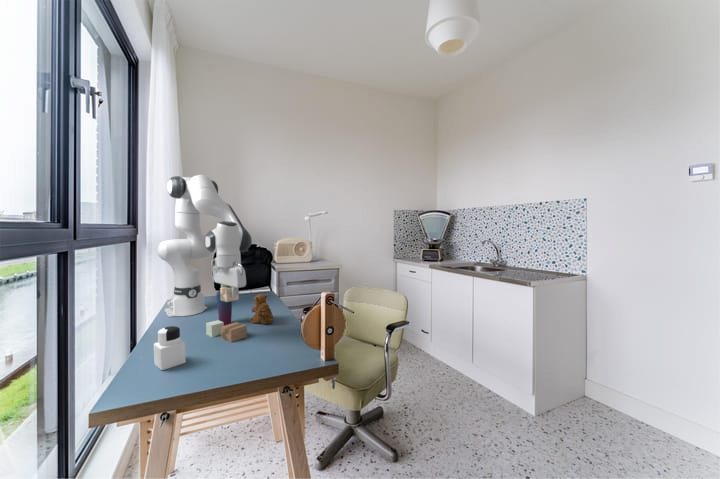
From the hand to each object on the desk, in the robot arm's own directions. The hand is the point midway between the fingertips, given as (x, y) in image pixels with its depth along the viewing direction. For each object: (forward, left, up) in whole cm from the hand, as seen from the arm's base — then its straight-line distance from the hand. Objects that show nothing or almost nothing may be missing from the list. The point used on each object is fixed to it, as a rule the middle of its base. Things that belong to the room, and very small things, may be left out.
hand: (229, 295), depth 118 cm
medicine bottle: (+5, -24, -18) cm, 30 cm away
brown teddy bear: (-7, +20, -18) cm, 28 cm away
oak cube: (0, 0, -2) cm, 2 cm away
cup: (-19, +7, -18) cm, 27 cm away
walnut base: (0, +1, -18) cm, 18 cm away
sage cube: (-10, -2, -18) cm, 20 cm away
